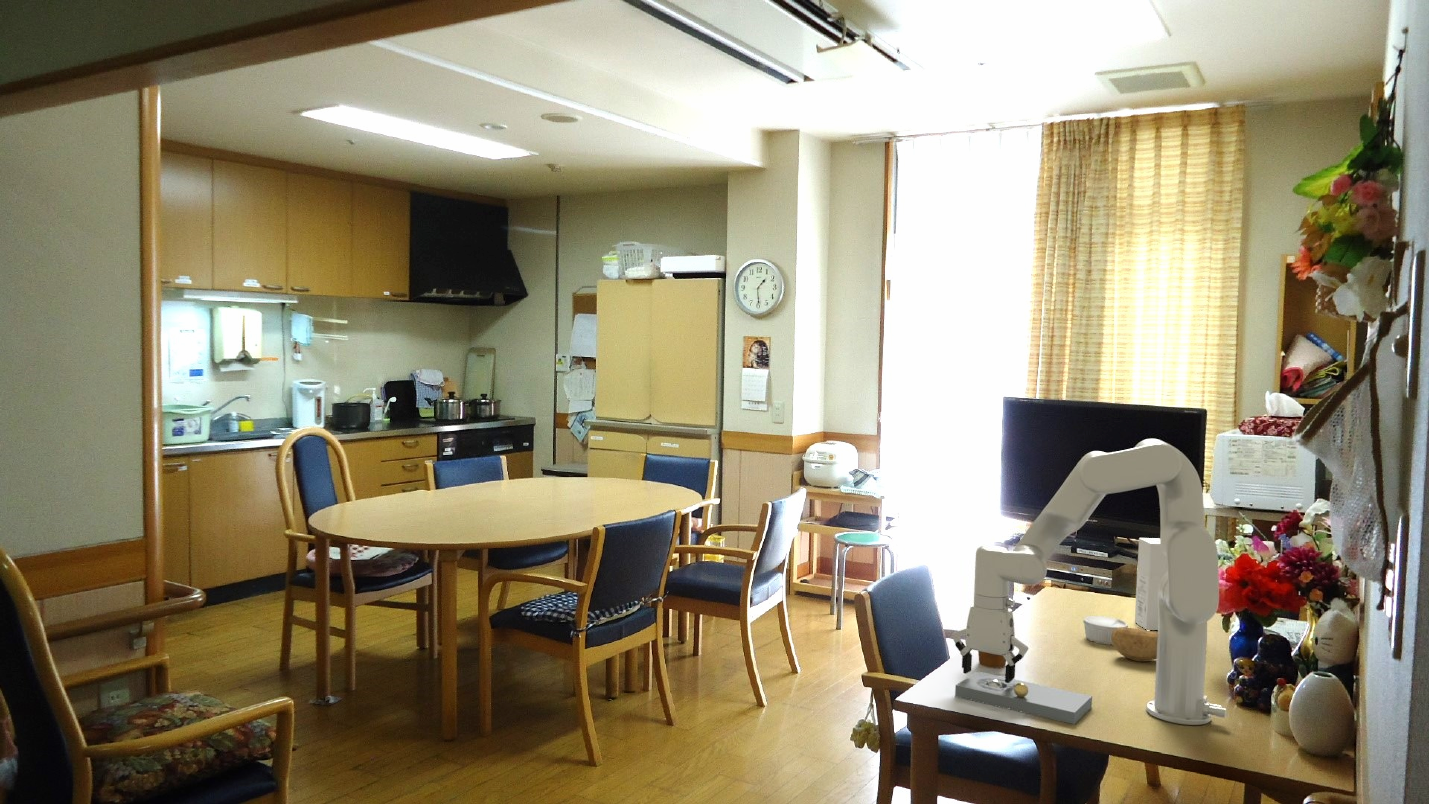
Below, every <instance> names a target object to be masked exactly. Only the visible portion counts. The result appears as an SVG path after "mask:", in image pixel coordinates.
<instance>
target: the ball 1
mask: <svg viewBox="0 0 1429 804" xmlns="http://www.w3.org/2000/svg"><path fill="white" fill-rule="evenodd" d="M987 685H988V686H990V687H994V688H1003V686H1002V683H1001V682H1000V681H998V680H995V679H993V680H990V681H989V682H988V684H987Z"/></svg>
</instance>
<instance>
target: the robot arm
mask: <svg viewBox="0 0 1429 804" xmlns="http://www.w3.org/2000/svg"><path fill="white" fill-rule="evenodd" d="M1153 486H1156V488H1157V492H1158V498H1159V499H1158V500H1159V509H1160V510H1159V511H1160V512H1159V513H1160V514H1159V517H1160V518H1159V519H1160V535H1159V537H1160V538H1159V539H1160V545H1161V549H1162V551H1163V552H1164V554H1165V555H1166V556H1167V564H1168V572H1167V573H1166V574H1165V575H1164V576H1163V577H1162V579H1161V581H1160V583H1159V587H1158V631H1157V632H1158V641H1157V659H1155V660H1156V663H1155V680H1154V681H1155V684H1154V685H1155V686H1154V700H1151V701H1148V702H1147V703H1146V707H1145V710H1146V712H1147V713H1149V715H1150V716H1153V717H1155V718H1156V719H1160V720H1161V721H1166V722H1169V723H1172V724H1173V723H1174V724H1178V725H1187V726H1188V725H1189V726H1200V725H1206V724H1208V723H1210V722H1211V719H1212V716H1215V717H1217V718H1223V719H1226V717H1227V708H1223V707H1222V705H1220V704H1215V703H1210V701H1208V695H1205V680H1206V679H1205V678H1206V662H1207V661H1206V660H1207V647H1208V643H1207V642H1208V621H1210V620H1211V619H1212V618H1213V617H1214V616H1215V615H1216V613H1217V612H1218V607H1219V604H1220V603H1219V602H1220V579H1219V576H1220V575H1219V573H1220V572H1219V553H1218V548H1217V543H1216V541H1215V539H1214V537H1213V536H1212V534H1211V533H1210V532H1209V531H1208V530H1207V529H1206V523H1205V521H1206V520H1205V507H1204V494H1203V487H1202V483H1201V479H1200V476H1199V474H1198V471H1197V470H1196V468H1195V466H1194V465H1193V464H1192V462H1191V461H1190V459H1189V458H1188V457H1187V456H1186V455H1185V454H1184V453H1183V452H1182V451H1180V450H1179V449H1178V448H1176V447H1175V446H1173V445H1171V444H1170V443H1168V442H1165V441H1163V440H1161V439H1157V438H1146V439H1143V440H1141V441H1140V442H1138V443H1137V444H1136V445H1135V446H1134V447H1133V448H1128V449H1124V450H1119V451H1112V452H1104V451H1100V450H1093V451H1090V452H1088V453H1086V454H1084V456H1082V457H1081V459H1080V460H1079V461H1078V462H1077V464H1076V466H1074V468H1073V469H1072V471H1071V472H1070V473H1069V474H1068V476H1067V477H1066V479H1064V482H1063V483H1062V485H1061V486H1060V487H1059V489H1058V490H1057V491H1056V493H1055V494H1054V496H1053V497H1052V498H1051V499H1050V501H1049V502H1048V504H1046V505H1045V507H1044V508H1043V509H1042V511H1041V513H1040V514H1039V515H1038V516H1037V517H1036V518H1035V520H1034V521H1033V522H1032V523H1031V525H1030V526H1029V527H1028V529H1027V530H1026V531H1025V533H1024V534H1023V535H1022V536H1021V538H1020V539H1019V541H1018V542H1017V544H1016V545H1015V547H1014V548H1013V550H1012V551H1010V550H1009V549H1007V548H1006V547H1003V546H998V545H982V546H979V547H978V548H977V549H976V552H975V563H974V564H975V565H974V566H975V567H974V568H975V569H974V586H973V587H974V588H973V589H974V590H973V591H974V592H973V603H972V604H971V605H970V608H969V612H968V617H967V621H966V627H965V628H964V629H960V630H958V631H955V632H953V633H952V634H951V637H952V640H953V642H954V645H955V647H956V649H957V650H958V651H959V652H960V655H961V657H962V658H961V669H962V670H963V671H962V672H963V674H968V673H970V672H971V671H972V660H973V655H972V653H971V651H977V652H978V651H982V652H986V653H991V654H996V655H1003V657H1004V658H1005V660H1006V663H1007V664H1006V665H1005V670H1004V673H1005V674H1004V677H1005V682H1006V683H1009V682H1011V681H1012V680H1013V679H1015V676H1016V664H1017V663H1018V662H1020V661H1021V660H1022V659H1023V658H1024V657H1025V655H1026V654H1027V653H1028V651H1029V646H1027V645H1026V644H1024V642H1022V641H1020V640H1019V639H1018V638H1016V637H1015V635H1016V633H1015V621H1014V619H1015V618H1014V614H1013V609H1011V608H1010V607H1015V604H1016V601H1015V600H1014V599H1011V598H1010V595H1009V593H1010V582H1011V583H1016V584H1018V585H1023V586H1024V585H1025V586H1035V585H1039V584H1040V583H1041V582H1043V581H1044V580H1045V578H1046V576H1047V573H1048V572H1047V571H1048V566H1047V562H1048V560H1049V559H1050V557H1052V555H1053V554H1054V552H1055V551H1056V549H1057V548H1058V547H1059V546H1060V544H1062V542H1063V541H1064V540H1065V539H1066V538H1067V537H1068V536H1070V535H1071V534H1073V533H1075V532H1077V531H1078V530H1080V529H1081V528H1082V527H1083V526H1084V525H1085V524H1086V522H1087V521H1088V520H1089V518H1090V516H1091V515H1092V514H1093V513H1094V511H1095V510H1096V508H1097V507H1099V506H1098V505H1099V504H1100V503H1101V502H1102V501H1103V499H1104V497H1106V496H1107V495H1109V494H1116V493H1123V492H1128V491H1129V492H1130V491H1133V490H1138V489H1142V488H1143V489H1144V488H1148V487H1153ZM963 636H965V644H964V642H963V641H962V638H961V637H963ZM1015 647H1016V648H1017V649H1018V652H1017V654H1016V655H1015V654H1014V652H1013V651H1014V650H1015Z"/></svg>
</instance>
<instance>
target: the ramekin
mask: <svg viewBox="0 0 1429 804" xmlns="http://www.w3.org/2000/svg"><path fill="white" fill-rule="evenodd" d="M1082 622H1083V624H1084V625H1083V626H1084V632H1085V633H1084V634H1085V637H1086V638H1087V640H1089V641H1090V642H1092V641H1094V642H1093V643H1095V642H1096V644H1101V645H1107V644H1113V643H1112V641H1111V635H1112V633H1113V631H1114V630H1115V629H1117V628H1119V627H1128V628H1129V625H1128V623H1127V622H1126V621H1124V620H1122V619H1119V618H1115V617H1110V616H1102V615H1101V616H1099V615H1093V616H1092V615H1090V616H1085V617H1084V618H1083V621H1082Z"/></svg>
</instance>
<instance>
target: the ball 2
mask: <svg viewBox="0 0 1429 804" xmlns="http://www.w3.org/2000/svg"><path fill="white" fill-rule="evenodd" d="M1014 693H1015V694H1016V695H1017V696H1018V697H1025V696H1026V695H1027V694H1028V687H1027V686H1026V685H1025V684H1023V683H1018V684H1016V685H1015V687H1014Z"/></svg>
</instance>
